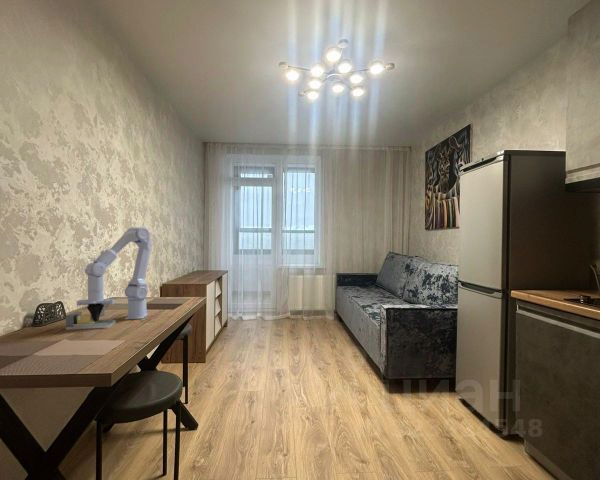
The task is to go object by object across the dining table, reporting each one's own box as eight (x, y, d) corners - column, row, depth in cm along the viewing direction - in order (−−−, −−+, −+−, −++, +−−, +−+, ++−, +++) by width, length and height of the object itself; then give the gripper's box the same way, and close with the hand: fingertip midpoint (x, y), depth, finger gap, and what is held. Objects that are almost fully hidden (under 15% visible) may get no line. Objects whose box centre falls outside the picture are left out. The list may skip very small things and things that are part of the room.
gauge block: (82, 322, 140) (82, 313, 140) (94, 322, 141) (94, 313, 141) (76, 325, 136) (76, 316, 136) (89, 325, 136) (89, 316, 136)
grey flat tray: (76, 324, 143) (76, 319, 143) (116, 322, 146) (116, 317, 146) (65, 329, 135) (65, 324, 135) (107, 327, 137) (107, 322, 137)
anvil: (74, 323, 141) (74, 312, 141) (81, 323, 141) (81, 311, 141) (65, 327, 135) (65, 315, 135) (73, 327, 135) (73, 315, 135)
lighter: (94, 316, 157) (94, 300, 157) (95, 315, 159) (95, 299, 158) (111, 315, 160) (111, 299, 160) (111, 314, 162) (111, 298, 162)
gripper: (72, 292, 134) (72, 324, 134) (109, 291, 136) (109, 322, 136) (81, 289, 141) (81, 320, 141) (116, 288, 143) (116, 318, 143)
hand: (95, 321), depth 139 cm, fingers closed
